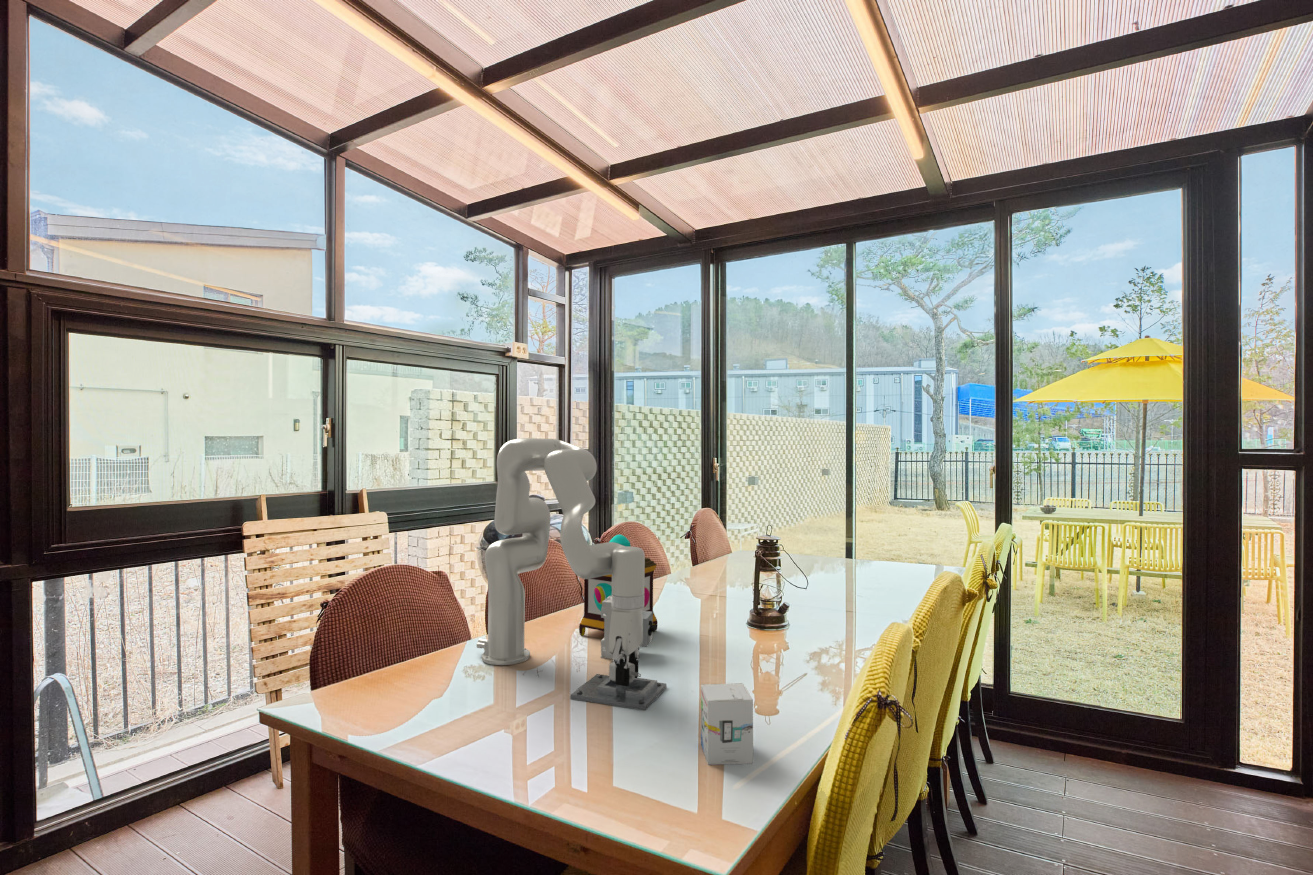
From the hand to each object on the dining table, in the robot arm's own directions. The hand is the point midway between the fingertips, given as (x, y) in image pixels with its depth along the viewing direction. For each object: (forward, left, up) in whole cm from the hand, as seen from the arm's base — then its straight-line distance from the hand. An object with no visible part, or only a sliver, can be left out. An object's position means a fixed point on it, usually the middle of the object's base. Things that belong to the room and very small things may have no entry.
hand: (627, 680), depth 150 cm
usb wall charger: (0, 0, -1) cm, 1 cm away
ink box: (+28, -20, -3) cm, 35 cm away
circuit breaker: (-10, +26, -3) cm, 28 cm away
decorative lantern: (-21, +44, -3) cm, 49 cm away
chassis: (-2, 0, -3) cm, 4 cm away
